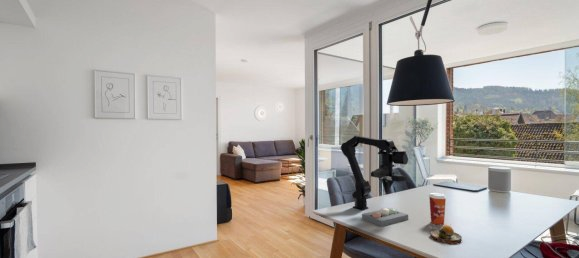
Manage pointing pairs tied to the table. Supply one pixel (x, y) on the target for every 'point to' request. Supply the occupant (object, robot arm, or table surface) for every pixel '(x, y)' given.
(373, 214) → the pink button
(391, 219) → the grey flat board
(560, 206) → the table surface
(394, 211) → the sage button
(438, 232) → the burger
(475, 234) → the table surface
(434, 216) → the paper cup
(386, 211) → the cream button
